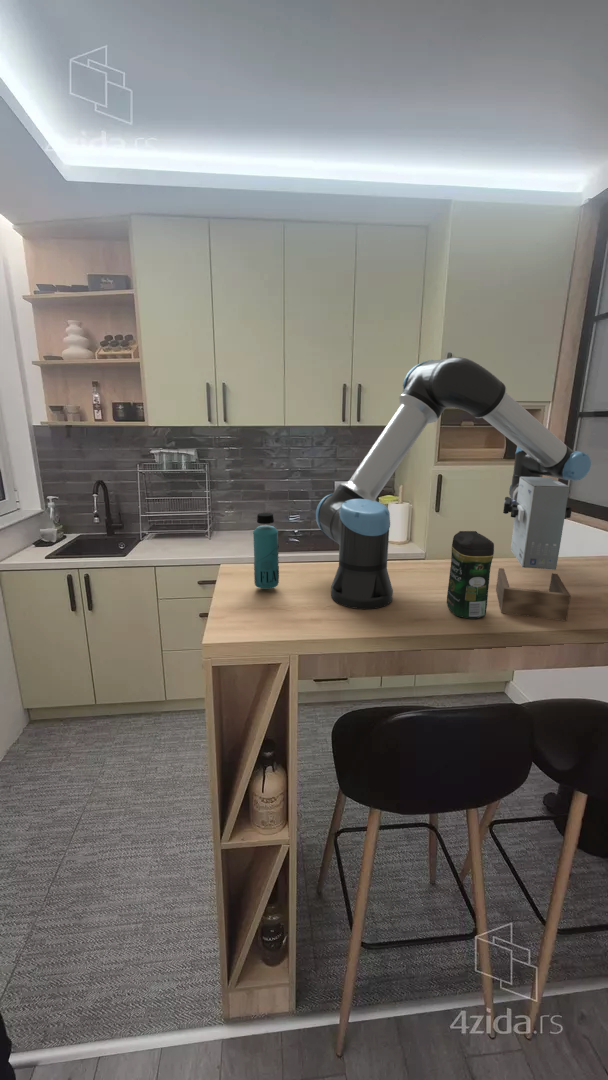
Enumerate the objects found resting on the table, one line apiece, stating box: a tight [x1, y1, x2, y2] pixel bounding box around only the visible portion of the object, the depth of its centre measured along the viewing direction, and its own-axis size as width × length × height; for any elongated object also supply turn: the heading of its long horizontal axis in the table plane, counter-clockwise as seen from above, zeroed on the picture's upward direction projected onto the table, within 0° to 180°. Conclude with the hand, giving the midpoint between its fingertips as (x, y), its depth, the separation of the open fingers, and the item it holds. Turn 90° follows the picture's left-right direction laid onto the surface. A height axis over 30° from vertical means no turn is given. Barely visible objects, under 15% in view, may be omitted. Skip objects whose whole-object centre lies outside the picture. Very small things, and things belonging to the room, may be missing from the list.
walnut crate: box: [495, 567, 572, 622], centre depth 109 cm, size 13×14×6 cm
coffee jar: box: [446, 530, 495, 620], centre depth 104 cm, size 10×8×19 cm
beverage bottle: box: [252, 512, 280, 590], centre depth 115 cm, size 6×7×20 cm
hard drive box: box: [510, 476, 570, 571], centre depth 113 cm, size 16×8×20 cm, turn 167°
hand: (541, 517), depth 108 cm, fingers closed on hard drive box, 8 cm apart
